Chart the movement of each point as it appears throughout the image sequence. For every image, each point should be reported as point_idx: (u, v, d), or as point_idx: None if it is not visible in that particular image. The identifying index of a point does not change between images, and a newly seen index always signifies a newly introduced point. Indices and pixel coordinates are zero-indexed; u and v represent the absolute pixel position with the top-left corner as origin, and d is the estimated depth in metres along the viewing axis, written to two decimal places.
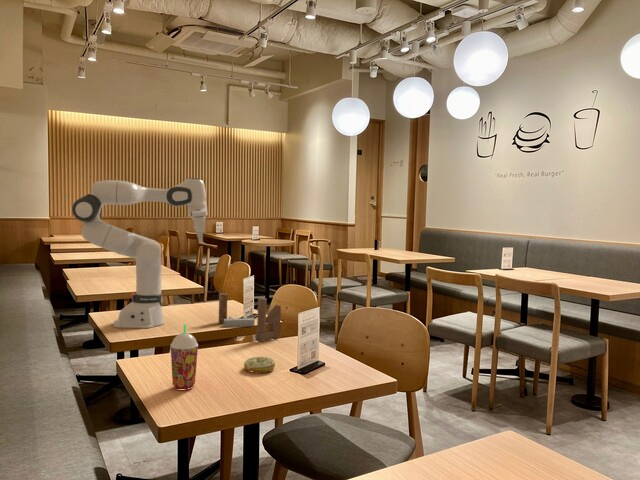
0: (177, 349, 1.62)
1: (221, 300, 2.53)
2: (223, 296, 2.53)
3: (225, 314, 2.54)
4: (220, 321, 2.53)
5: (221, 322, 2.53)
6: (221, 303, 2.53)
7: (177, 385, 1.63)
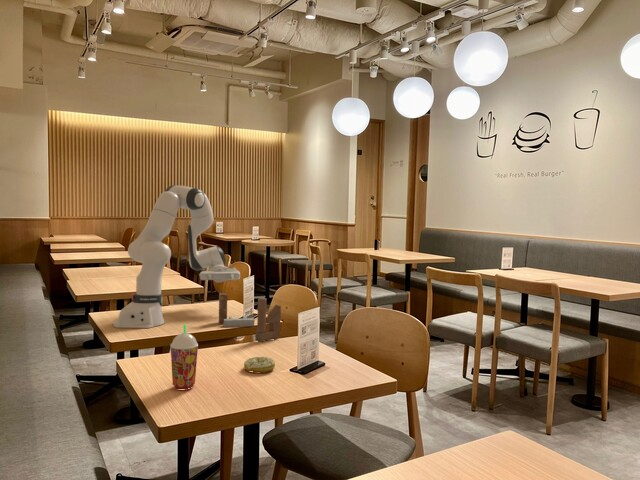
0: (177, 349, 1.62)
1: (221, 300, 2.53)
2: (223, 296, 2.53)
3: (225, 314, 2.54)
4: (220, 321, 2.53)
5: (221, 322, 2.53)
6: (221, 303, 2.53)
7: (177, 385, 1.63)
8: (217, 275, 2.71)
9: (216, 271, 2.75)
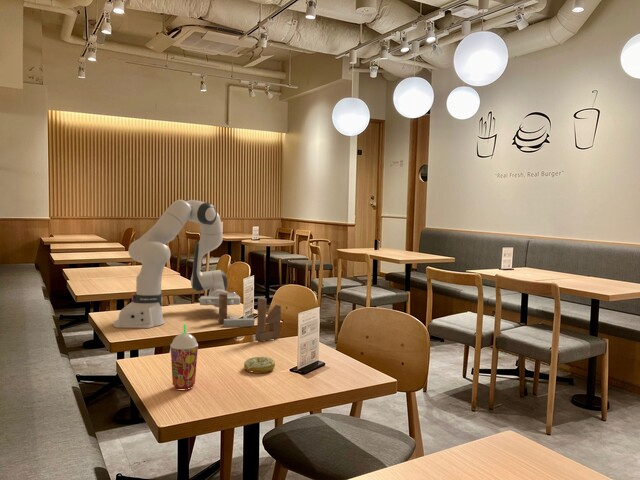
0: (177, 349, 1.62)
1: (221, 300, 2.53)
2: (223, 296, 2.53)
3: (225, 314, 2.54)
4: (220, 321, 2.53)
5: (221, 322, 2.53)
6: (221, 303, 2.53)
7: (177, 385, 1.63)
8: (217, 300, 2.67)
9: (216, 296, 2.72)
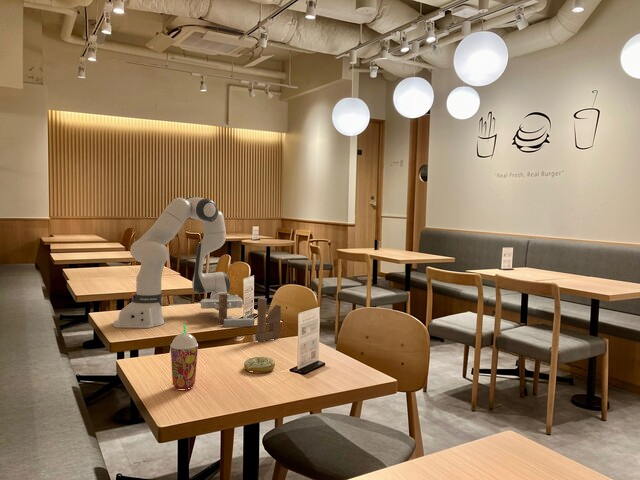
0: (177, 349, 1.62)
1: (221, 300, 2.53)
2: (223, 296, 2.53)
3: (225, 314, 2.54)
4: (220, 321, 2.53)
5: (221, 322, 2.53)
6: (221, 303, 2.53)
7: (177, 385, 1.63)
8: None
9: (217, 299, 2.63)
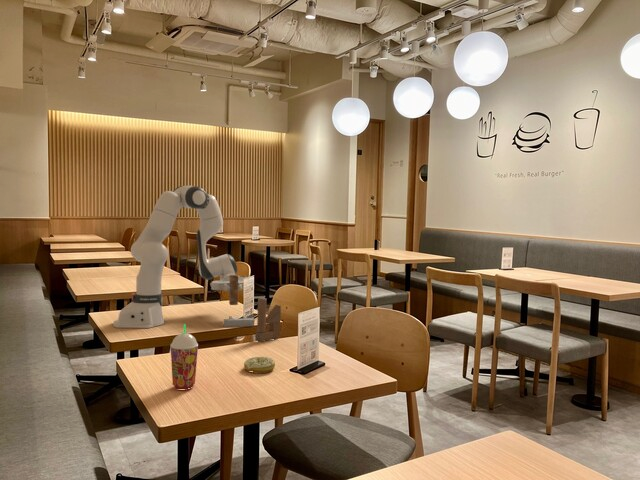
0: (177, 349, 1.62)
1: (232, 281, 2.52)
2: (234, 277, 2.52)
3: (236, 295, 2.53)
4: (231, 302, 2.53)
5: (232, 303, 2.53)
6: (232, 284, 2.52)
7: (177, 385, 1.63)
8: (229, 285, 2.58)
9: (228, 280, 2.63)
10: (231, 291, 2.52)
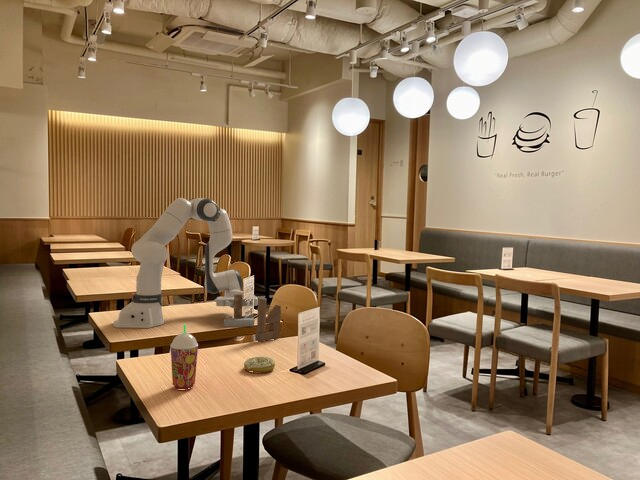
0: (177, 349, 1.62)
1: (236, 301, 2.52)
2: (238, 297, 2.52)
3: (240, 314, 2.53)
4: None
5: None
6: (236, 304, 2.52)
7: (177, 385, 1.63)
8: None
9: (232, 296, 2.63)
10: (235, 310, 2.52)
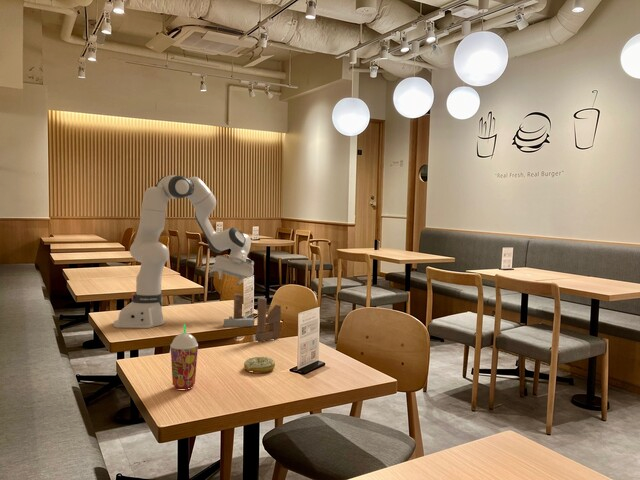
0: (177, 349, 1.62)
1: (236, 301, 2.52)
2: (238, 297, 2.52)
3: (240, 315, 2.53)
4: None
5: None
6: (236, 304, 2.52)
7: (177, 385, 1.63)
8: (229, 271, 2.66)
9: (232, 262, 2.68)
10: (235, 311, 2.52)
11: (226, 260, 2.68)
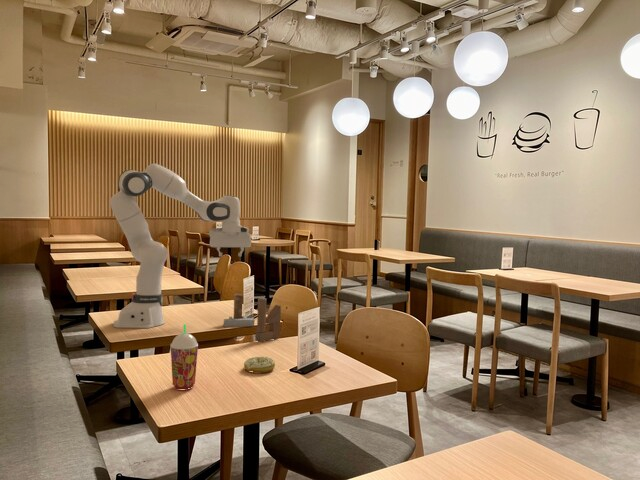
0: (177, 349, 1.62)
1: (236, 301, 2.52)
2: (238, 297, 2.52)
3: (240, 314, 2.53)
4: None
5: None
6: (236, 304, 2.52)
7: (177, 385, 1.63)
8: None
9: (227, 235, 2.60)
10: (235, 311, 2.52)
11: (221, 235, 2.59)
